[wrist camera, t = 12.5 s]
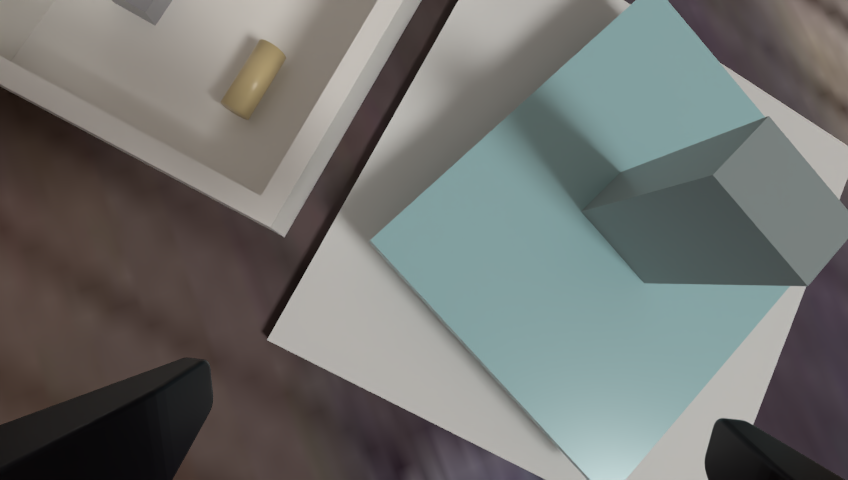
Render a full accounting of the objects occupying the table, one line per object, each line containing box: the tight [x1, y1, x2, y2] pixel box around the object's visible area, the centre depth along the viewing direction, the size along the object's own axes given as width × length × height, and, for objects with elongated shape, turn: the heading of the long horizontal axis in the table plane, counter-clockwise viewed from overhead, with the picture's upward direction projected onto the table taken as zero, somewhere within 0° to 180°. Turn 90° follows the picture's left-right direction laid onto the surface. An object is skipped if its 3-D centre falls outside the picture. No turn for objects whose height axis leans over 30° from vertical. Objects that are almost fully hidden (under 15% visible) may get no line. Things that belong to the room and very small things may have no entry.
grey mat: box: [267, 0, 848, 480], centre depth 22 cm, size 22×22×1 cm
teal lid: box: [369, 0, 848, 480], centre depth 17 cm, size 17×14×10 cm
